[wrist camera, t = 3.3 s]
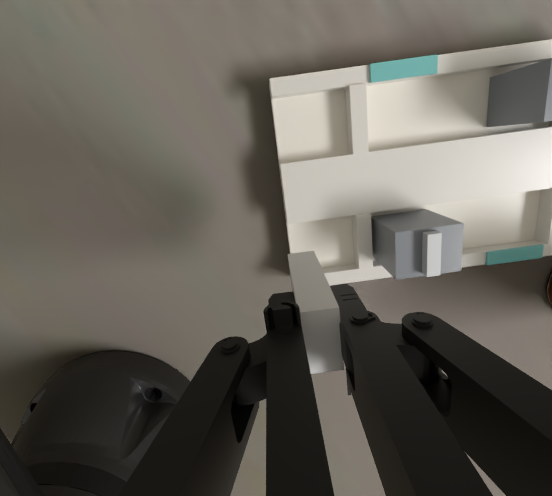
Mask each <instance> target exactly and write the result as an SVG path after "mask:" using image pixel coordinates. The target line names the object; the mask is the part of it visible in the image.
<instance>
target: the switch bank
mask: <svg viewBox="0 0 552 496" xmlns="http://www.w3.org/2000/svg"><path fill="white" fill-rule="evenodd" d="M550 58H552V39H550V40H543V41H536V42H528V43H521V44H514V45H507V46H500V47H492V48H485V49H478V50H471V51H464V52H456V53H449V54H442V55H438V54H437V55H430V56H423V57H415V58H408V59H401V60H394V61H387V62H379V63H372V64H370V65H363V66H356V67H349V68H341V69H334V70H327V71H320V72H313V73H305V74H298V75H291V76H284V77H277V78H270V81H269V90H270V98H271V106H272V114H273V122H274V130H275V138H276V146H277V154H278V163H279V171H280V179H281V187H282V195H283V203H284V211H285V219H286V227H287V235H288V243H289V251H290V254H292V253H299V252H307V251H314V252H315V254H316V256H317V259H318V261H319V263H320V265H321V268H322V270H323V272H324V274H325V277H326V279H327V281H328V283H329V285H336V284H344V283H351V282H358V281H366V280H373V279H381V278H388V277H393V276H392V275H391V274H390V273H389V272H388V271H387V270H386V269H385V268H384V267H383V266H382V265H381V264H380V263H379V262H378V261H377V260H376V259H375V258H374V257H373V252H372V226H371V216H378V215H385V214H393V213H400V212H407V211H415V210H422V209H427V210H430V211H432V212H435V213H438V214H440V215H443V216H446V217H448V218H451V219H454V220H456V221H459V222H462V223H464V228H463V246H462V264H461V268H462V267H470V266H477V265H484V264H486V265H494V264H501V263H508V262H516V261H523V260H531V259H538V258H542V257H544V256H551V255H552V121H547V122H538V123H527V124H517V125H506V126H496V127H486V126H487V112H488V98H489V84H490V77H493V76H496V75H499V74H503V73H506V72H509V71H512V70H515V69H519V68H522V67H525V66H528V65H531V64H534V63H538V62H541V61H544V60H547V59H550Z"/></svg>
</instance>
